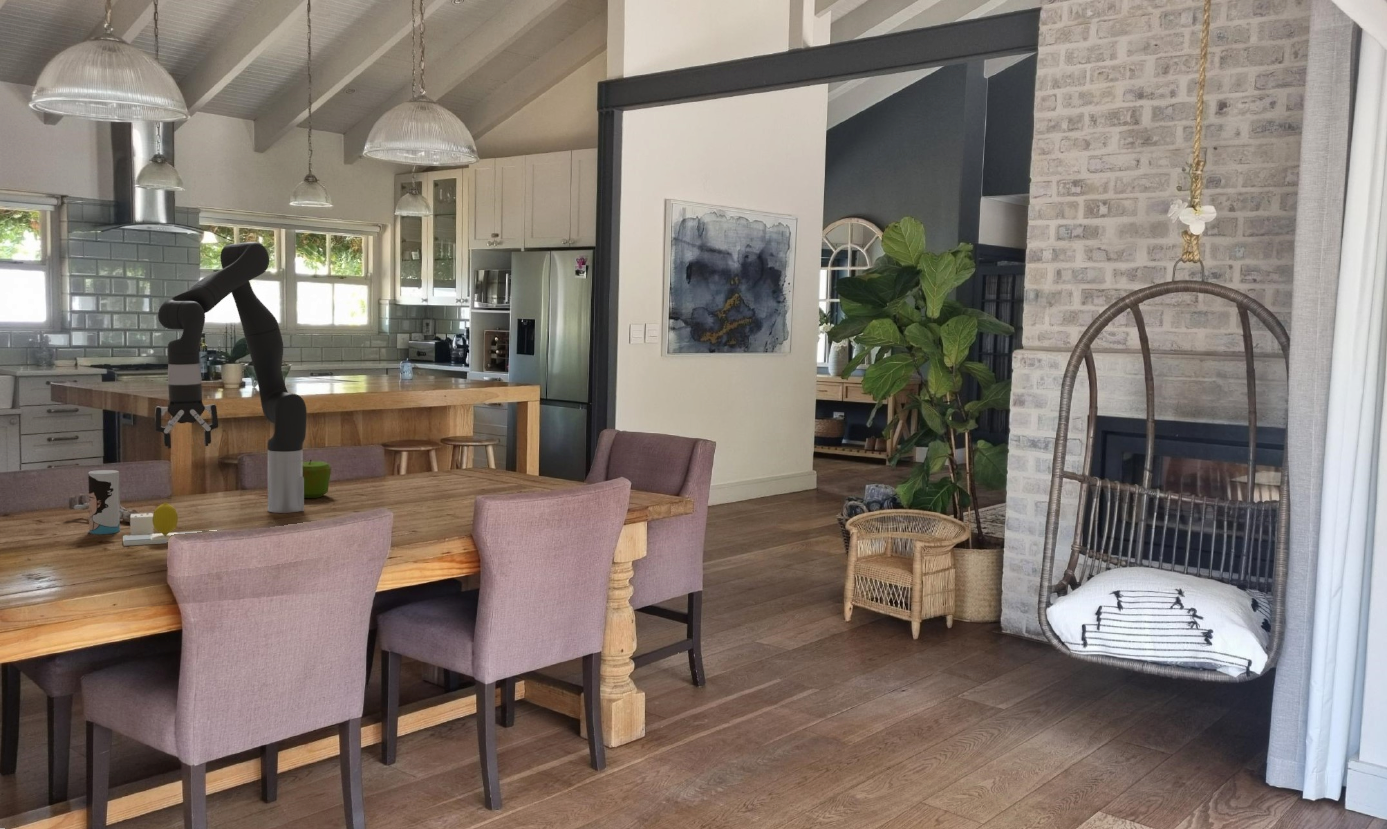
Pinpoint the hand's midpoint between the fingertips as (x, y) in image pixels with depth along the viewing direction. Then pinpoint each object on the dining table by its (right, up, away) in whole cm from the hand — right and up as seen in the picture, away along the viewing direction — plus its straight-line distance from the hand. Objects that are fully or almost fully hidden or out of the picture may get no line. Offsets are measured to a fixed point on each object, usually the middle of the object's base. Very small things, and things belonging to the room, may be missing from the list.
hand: (187, 446), depth 282 cm
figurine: (-28, -20, +14) cm, 37 cm away
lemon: (-2, -21, -8) cm, 23 cm away
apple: (+10, -17, +60) cm, 63 cm away
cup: (-21, -21, +1) cm, 30 cm away
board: (+1, -22, -6) cm, 23 cm away
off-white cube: (-10, -22, -2) cm, 24 cm away
